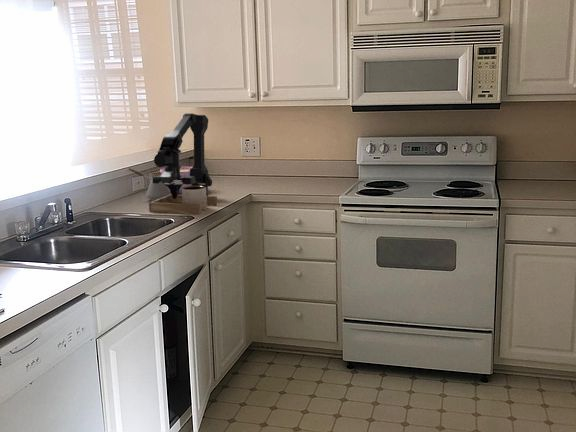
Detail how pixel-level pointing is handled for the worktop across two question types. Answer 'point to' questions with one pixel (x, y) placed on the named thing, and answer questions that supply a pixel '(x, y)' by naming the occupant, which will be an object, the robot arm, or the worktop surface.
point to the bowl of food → (183, 172)
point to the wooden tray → (178, 205)
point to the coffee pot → (155, 187)
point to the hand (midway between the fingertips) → (174, 199)
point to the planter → (195, 196)
